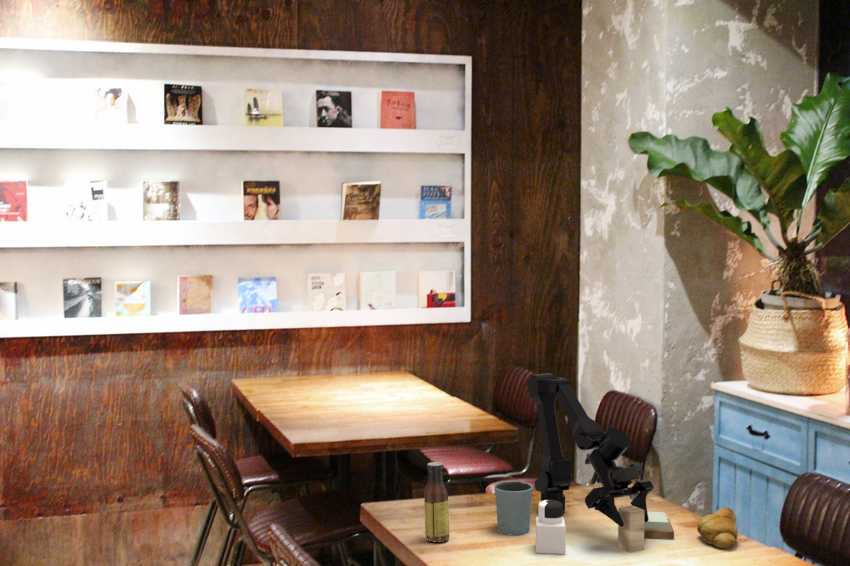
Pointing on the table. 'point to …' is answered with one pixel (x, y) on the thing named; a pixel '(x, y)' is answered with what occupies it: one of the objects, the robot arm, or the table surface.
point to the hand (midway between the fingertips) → (635, 523)
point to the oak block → (631, 529)
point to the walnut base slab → (660, 533)
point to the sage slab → (657, 521)
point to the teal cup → (513, 506)
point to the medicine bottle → (550, 528)
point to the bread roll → (719, 528)
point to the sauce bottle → (436, 505)
